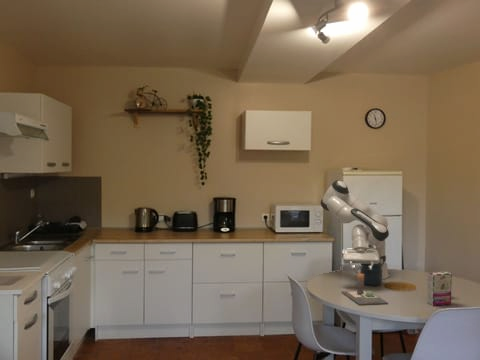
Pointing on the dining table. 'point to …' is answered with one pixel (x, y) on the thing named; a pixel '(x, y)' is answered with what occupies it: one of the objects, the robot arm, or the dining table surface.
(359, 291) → the marker
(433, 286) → the candy bar box
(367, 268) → the canister
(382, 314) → the dining table surface
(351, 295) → the board
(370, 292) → the button
